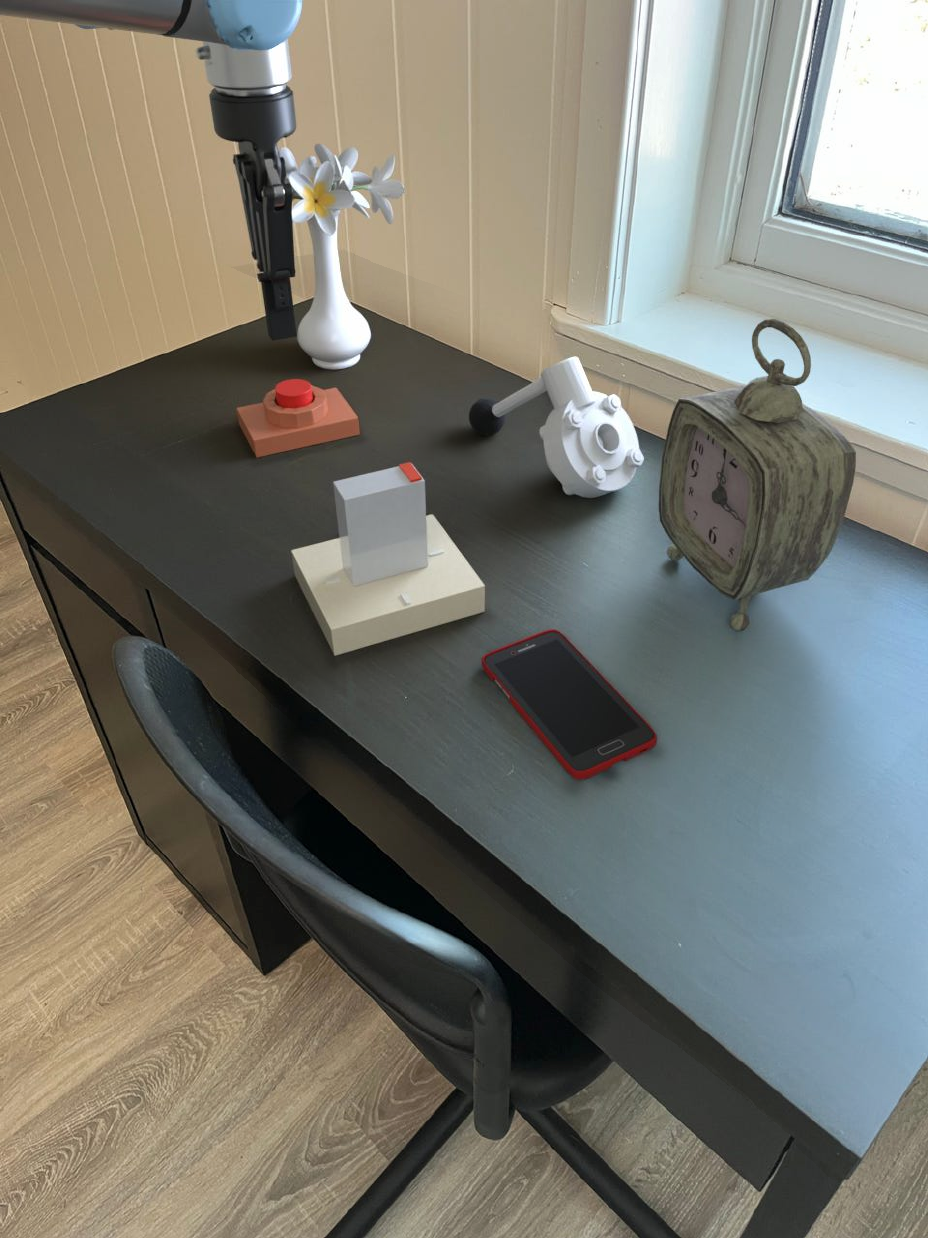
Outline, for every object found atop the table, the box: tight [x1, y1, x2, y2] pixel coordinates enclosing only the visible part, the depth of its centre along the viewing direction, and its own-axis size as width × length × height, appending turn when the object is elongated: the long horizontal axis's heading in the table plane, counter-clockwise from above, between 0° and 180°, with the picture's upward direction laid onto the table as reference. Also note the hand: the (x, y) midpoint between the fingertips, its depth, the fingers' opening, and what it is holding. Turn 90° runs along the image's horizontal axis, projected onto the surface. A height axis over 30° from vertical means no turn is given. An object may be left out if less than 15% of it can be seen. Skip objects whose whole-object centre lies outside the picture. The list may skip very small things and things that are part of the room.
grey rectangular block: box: [332, 461, 428, 586], centre depth 81 cm, size 7×3×9 cm, turn 114°
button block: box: [236, 384, 361, 458], centre depth 107 cm, size 12×8×4 cm, turn 114°
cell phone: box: [481, 628, 658, 781], centre depth 75 cm, size 8×15×1 cm, turn 29°
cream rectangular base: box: [290, 513, 486, 657], centre depth 85 cm, size 14×12×3 cm
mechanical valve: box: [468, 356, 645, 499], centre depth 101 cm, size 10×18×15 cm
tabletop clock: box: [658, 318, 857, 632], centre depth 78 cm, size 14×9×25 cm, turn 21°
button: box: [274, 378, 313, 408], centre depth 106 cm, size 4×4×2 cm
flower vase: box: [278, 143, 405, 370], centre depth 114 cm, size 13×18×25 cm
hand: (282, 335), depth 101 cm, fingers closed
